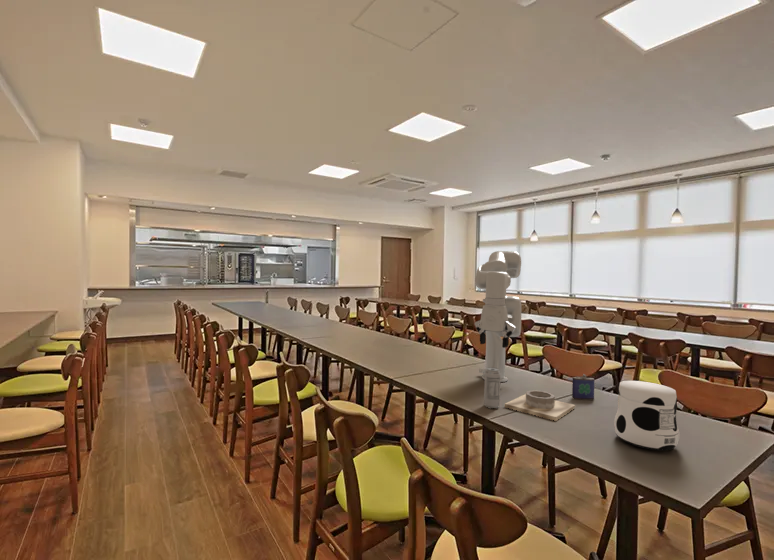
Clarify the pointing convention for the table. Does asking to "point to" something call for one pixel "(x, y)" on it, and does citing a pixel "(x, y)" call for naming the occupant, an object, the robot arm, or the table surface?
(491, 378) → the energy drink can
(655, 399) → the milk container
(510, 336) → the robot arm
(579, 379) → the flask
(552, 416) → the collar board
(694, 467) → the table surface
